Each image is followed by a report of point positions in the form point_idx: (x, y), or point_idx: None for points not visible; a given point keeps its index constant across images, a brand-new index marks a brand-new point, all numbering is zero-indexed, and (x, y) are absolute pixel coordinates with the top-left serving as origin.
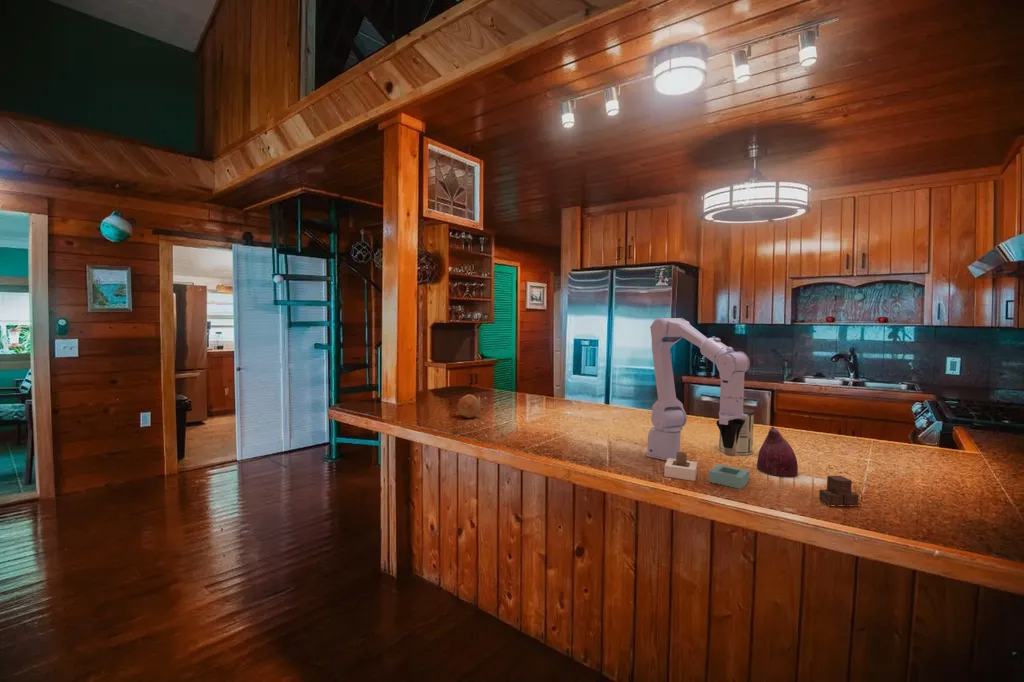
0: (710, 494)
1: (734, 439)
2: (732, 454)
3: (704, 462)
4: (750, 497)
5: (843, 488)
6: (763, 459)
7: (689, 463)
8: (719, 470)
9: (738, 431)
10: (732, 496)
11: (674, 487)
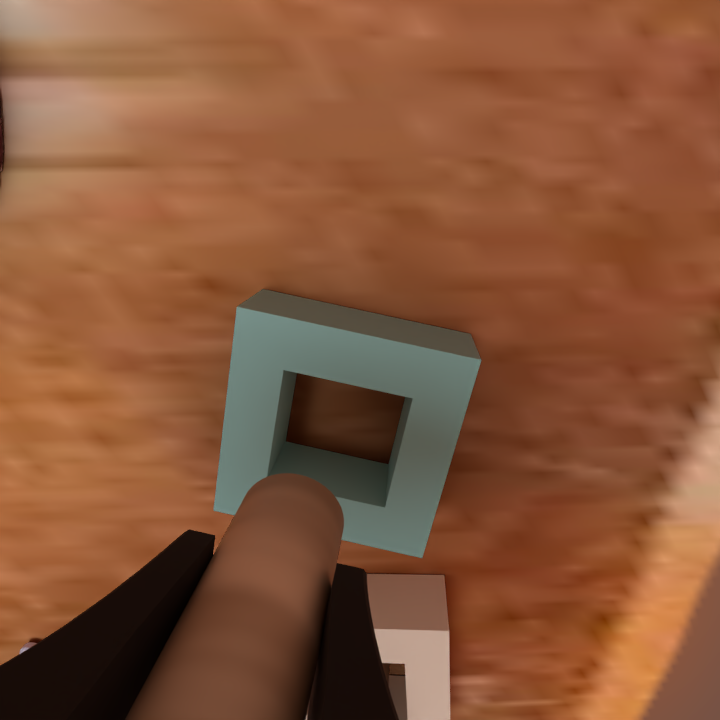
0: (654, 493)
1: (342, 651)
2: (333, 510)
3: (45, 543)
4: (612, 271)
5: None
6: None
7: None
8: (358, 499)
9: (94, 691)
10: (639, 378)
11: (610, 655)
